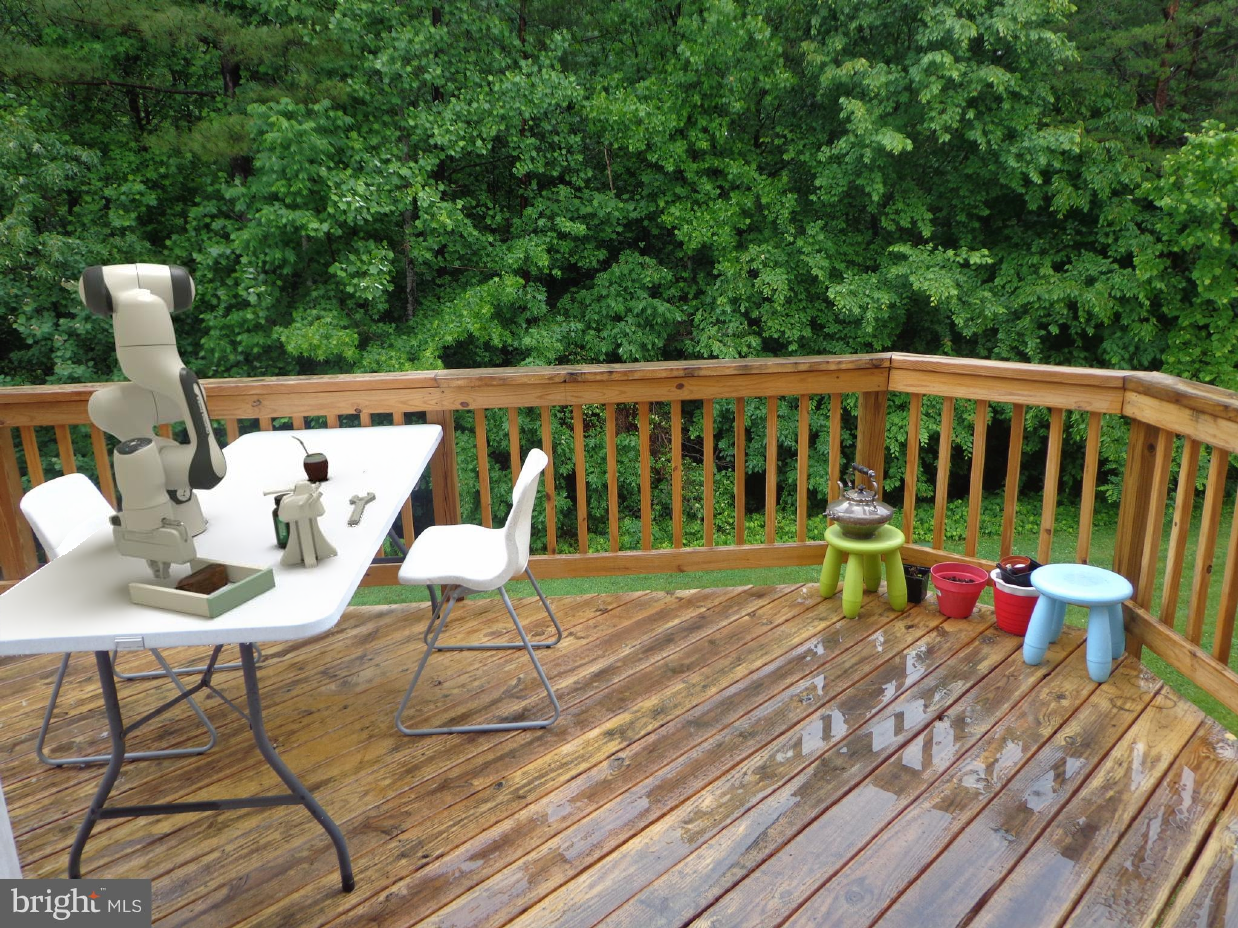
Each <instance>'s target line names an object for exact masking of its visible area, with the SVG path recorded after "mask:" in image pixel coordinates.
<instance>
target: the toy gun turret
mask: <svg viewBox="0 0 1238 928" xmlns="http://www.w3.org/2000/svg"><path fill="white" fill-rule="evenodd" d="M321 487H322V484H321V483H320V481H319V482H317V483H316V484H311V481H308V480H305V481H298V482H297V483H295V485H294V486H293V487H289V488H281V489H276V490H269V491H268V490H267V491H266V490H265V491H264V490H263V491H262V493H263V496H264V497H266V496H269V495H276V494H277V495H279V494H284V493H291V494H288V495H286V496H283V498H282V500H281V502H280V506H279V511H278V515H279V520H281V521H282V522H284V523H286V522H289V523H290V536H289V540H288V544H287V547H286V548H284V551H283V553H282V555H281V556H280V566H282V567H283V566H287V565H294V564H297V563H304V566H305V569H311V568H316V567H317V566H318V565H317V560H319V559H318V558H320V559H323V557H326V558H329V557H328V556H331V555H336V556H338V555H339V554H338V551H337V548H336V547H335V546H334V545H333V544H332V543H331V542H330V541H329V540H328V539H327V538H326V536H325V535H324V533H323V532H322V530H321V528H320V526H319V522H318V518H320V517H323V516H324V514H325V513H326V509H325V507H324V504H323V503H322V501H321V498H322V497H323V495H324V493H322V492H321V491H319V490H320V488H321ZM337 554H338V555H337ZM331 557H332V556H331ZM316 559H317V560H316Z"/></svg>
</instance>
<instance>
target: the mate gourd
mask: <svg viewBox="0 0 1238 928" xmlns="http://www.w3.org/2000/svg"><path fill="white" fill-rule="evenodd" d="M291 437H292V438H293V439H295V440H297V441H298V442H299V444H300V445H301V446H302V448H303V450H304V451H305V454H306V455H304V458H303V462H302V463H303V464H302V466H303V470H304V472H305V474H306V475H307V478H308V479H307V481H308V482H312V485H315V484H316V483H317V482H319V483H320V482H328V481H329V478H328V476H329V459H328V458H327V455H325V453H321V452H313V453H309V451H308V450H307V448H306V446H305V444H304V442H303V440H301V439H300V438H298V437H296V436H293V435H291Z"/></svg>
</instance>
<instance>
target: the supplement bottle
mask: <svg viewBox="0 0 1238 928" xmlns="http://www.w3.org/2000/svg"><path fill="white" fill-rule="evenodd" d="M291 493H292V492H285V493H279V494H277V495H275V496H274V498H273V499H274V506H275V507H274V508H273V509H272V511H271V515H272V522H273V527H274V534H275V538H276V544H277V546H278V548H281V549H286V547H287V544H288V540H289V536H290V523H289V522H286V523H284V522H282V521H281V520H279V515H278V511H279V506H280V502H281V500H282V498H283V496H286V495H288V494H291Z"/></svg>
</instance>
